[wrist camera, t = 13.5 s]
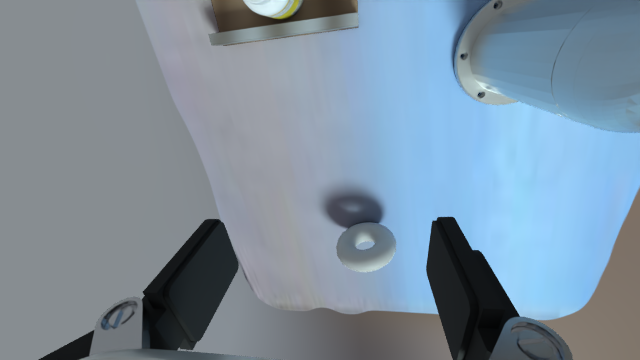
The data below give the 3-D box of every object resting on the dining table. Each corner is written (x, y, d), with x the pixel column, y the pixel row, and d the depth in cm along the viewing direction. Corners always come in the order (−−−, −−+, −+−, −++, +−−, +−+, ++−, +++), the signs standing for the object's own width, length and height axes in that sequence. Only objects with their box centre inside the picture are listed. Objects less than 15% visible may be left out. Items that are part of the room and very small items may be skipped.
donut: (340, 237, 48) (337, 280, 39) (336, 223, 46) (331, 264, 38) (393, 229, 45) (402, 273, 36) (390, 214, 44) (398, 256, 35)
